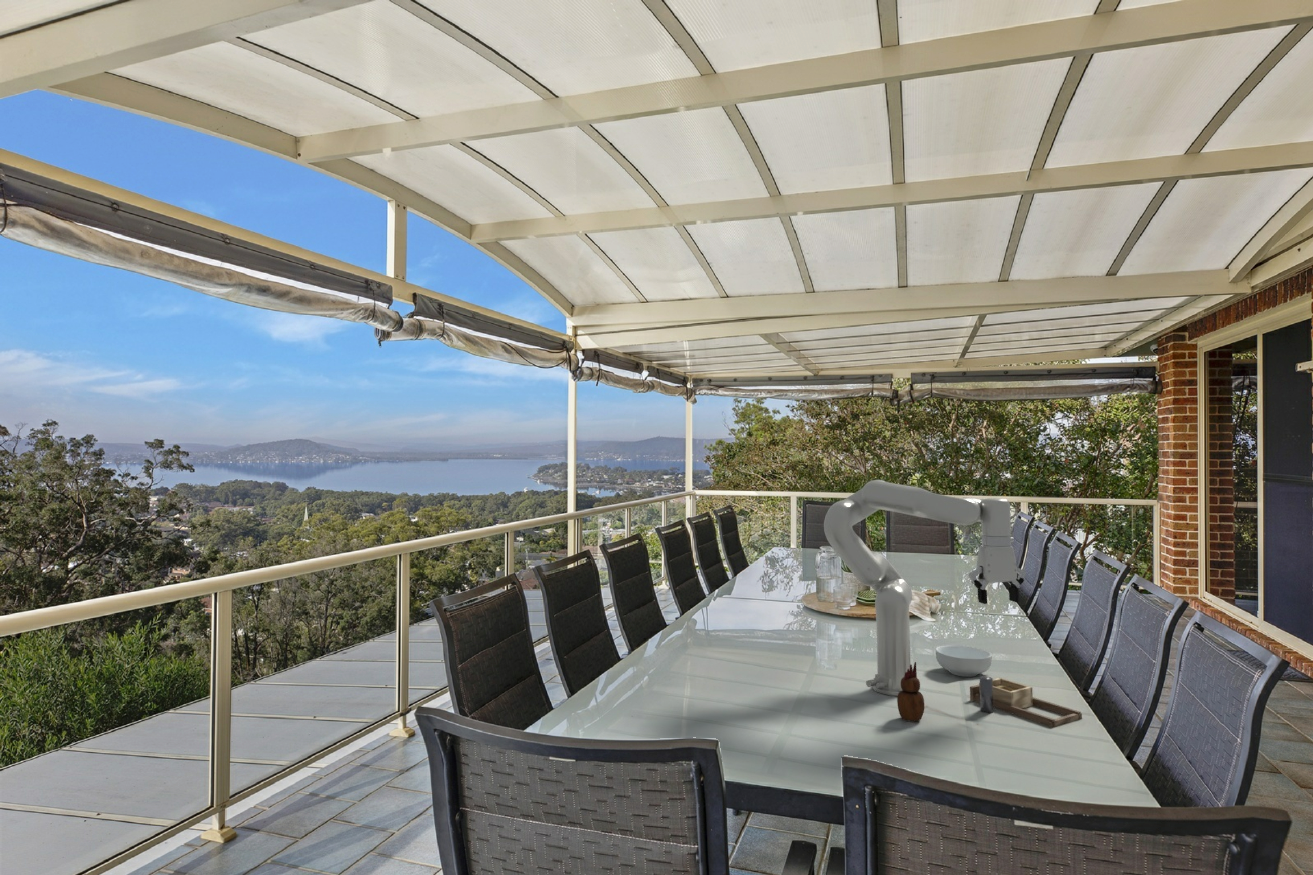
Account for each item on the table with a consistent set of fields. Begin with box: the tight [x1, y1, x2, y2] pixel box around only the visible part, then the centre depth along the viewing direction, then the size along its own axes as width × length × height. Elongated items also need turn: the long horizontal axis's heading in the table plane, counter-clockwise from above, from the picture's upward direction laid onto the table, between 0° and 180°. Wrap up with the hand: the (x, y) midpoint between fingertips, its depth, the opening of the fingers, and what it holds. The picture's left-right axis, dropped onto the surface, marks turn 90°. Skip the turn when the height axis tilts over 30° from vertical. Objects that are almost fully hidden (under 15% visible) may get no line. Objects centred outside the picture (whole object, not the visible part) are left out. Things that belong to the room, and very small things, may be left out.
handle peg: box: [979, 675, 994, 714], centre depth 198 cm, size 3×3×10 cm
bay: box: [969, 684, 1083, 728], centre depth 200 cm, size 13×24×5 cm, turn 29°
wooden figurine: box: [896, 661, 925, 722], centre depth 196 cm, size 7×6×15 cm
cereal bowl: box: [935, 645, 993, 678], centre depth 237 cm, size 17×17×7 cm
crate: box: [978, 677, 1034, 709], centre depth 205 cm, size 9×10×5 cm
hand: (998, 602), depth 209 cm, fingers open, 9 cm apart
